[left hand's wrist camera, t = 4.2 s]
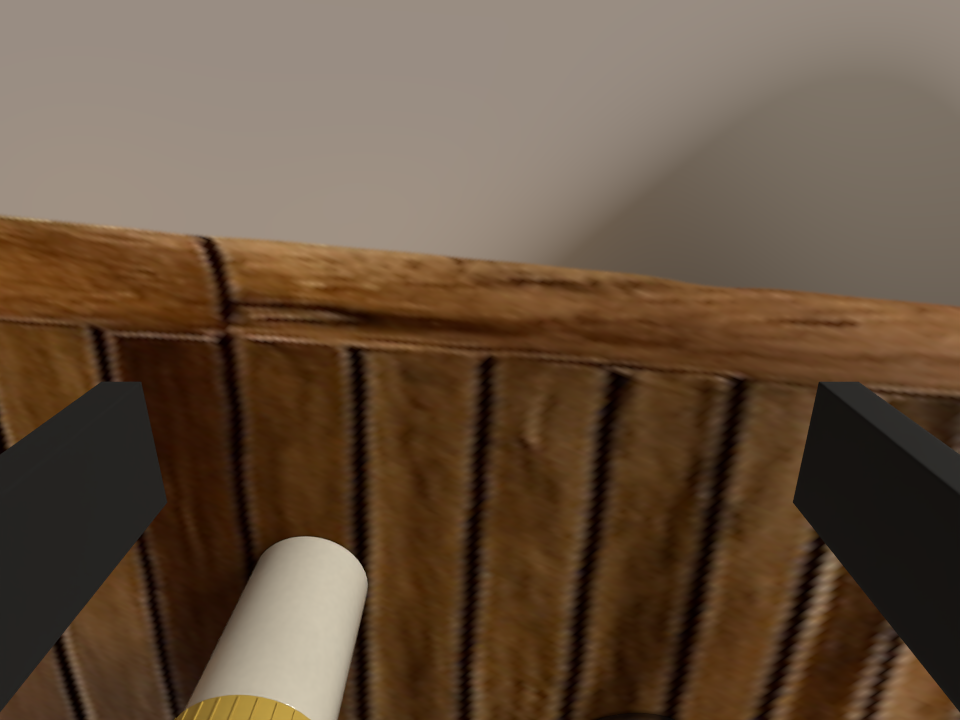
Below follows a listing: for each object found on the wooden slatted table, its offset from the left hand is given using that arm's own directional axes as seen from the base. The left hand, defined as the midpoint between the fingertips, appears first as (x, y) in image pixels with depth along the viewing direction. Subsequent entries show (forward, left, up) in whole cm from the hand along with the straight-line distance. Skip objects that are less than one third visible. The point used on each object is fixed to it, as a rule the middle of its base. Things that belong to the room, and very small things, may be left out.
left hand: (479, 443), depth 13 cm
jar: (-28, +13, -28) cm, 42 cm away
